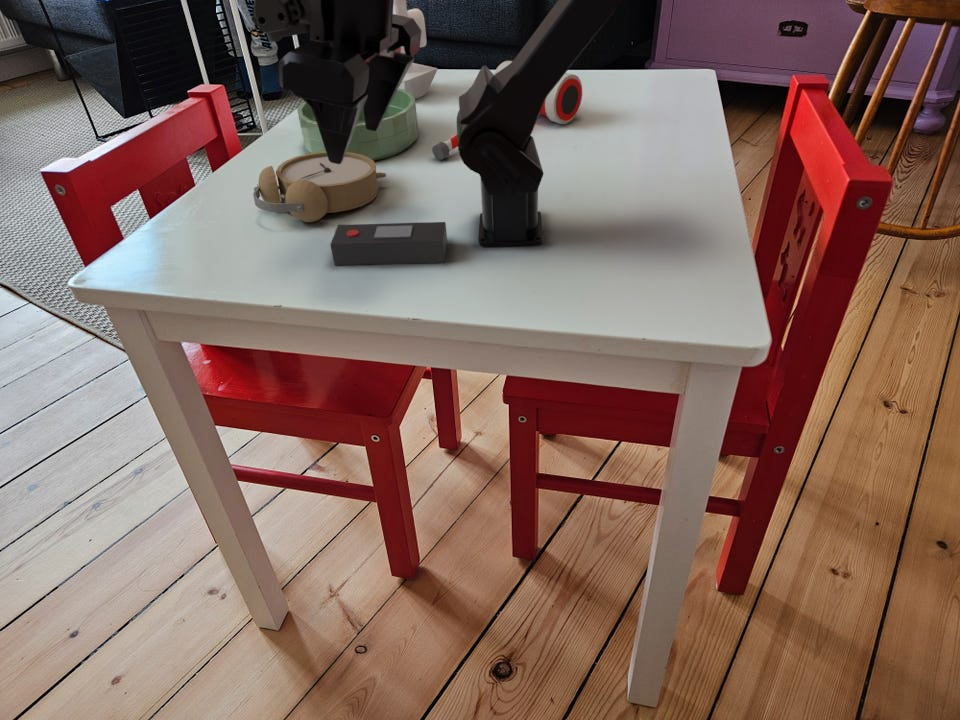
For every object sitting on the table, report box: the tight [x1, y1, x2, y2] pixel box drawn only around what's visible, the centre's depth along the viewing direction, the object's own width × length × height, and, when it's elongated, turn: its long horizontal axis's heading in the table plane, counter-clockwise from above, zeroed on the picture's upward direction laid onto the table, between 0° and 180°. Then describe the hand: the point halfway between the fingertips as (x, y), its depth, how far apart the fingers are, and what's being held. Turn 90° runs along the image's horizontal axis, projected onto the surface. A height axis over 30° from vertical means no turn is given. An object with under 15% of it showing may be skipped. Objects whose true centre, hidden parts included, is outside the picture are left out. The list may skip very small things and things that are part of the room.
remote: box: [330, 221, 448, 266], centre depth 70 cm, size 11×4×2 cm, turn 88°
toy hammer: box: [431, 60, 583, 161], centre depth 93 cm, size 23×12×6 cm, turn 137°
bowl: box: [296, 88, 420, 162], centre depth 93 cm, size 15×15×5 cm
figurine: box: [393, 0, 439, 100], centre depth 104 cm, size 7×9×15 cm
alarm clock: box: [252, 152, 387, 223], centre depth 80 cm, size 11×5×15 cm
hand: (354, 145), depth 67 cm, fingers open, 9 cm apart
